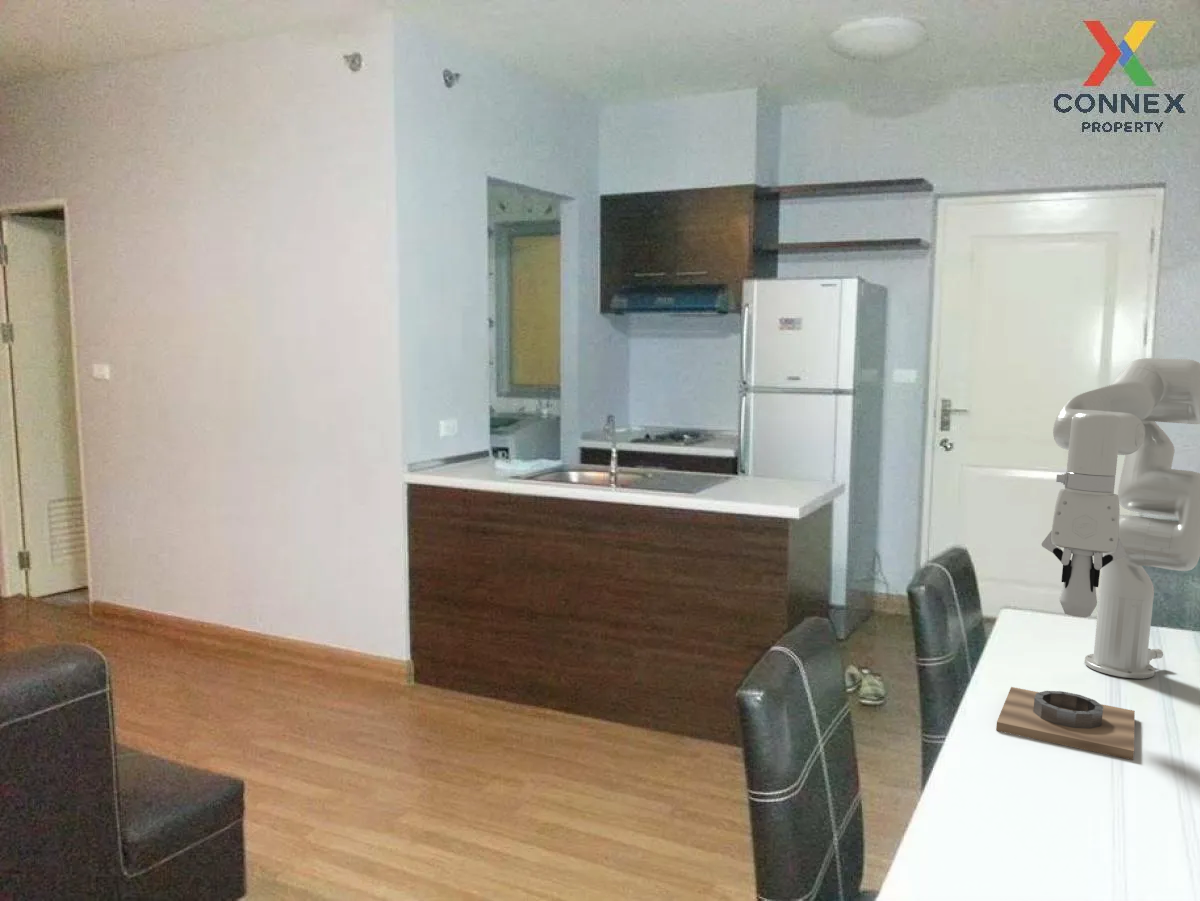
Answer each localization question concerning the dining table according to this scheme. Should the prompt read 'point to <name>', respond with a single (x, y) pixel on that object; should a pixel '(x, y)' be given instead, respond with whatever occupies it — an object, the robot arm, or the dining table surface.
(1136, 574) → the robot arm
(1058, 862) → the dining table surface
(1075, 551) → the salt shaker
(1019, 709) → the board
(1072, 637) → the dining table surface
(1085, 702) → the collar
